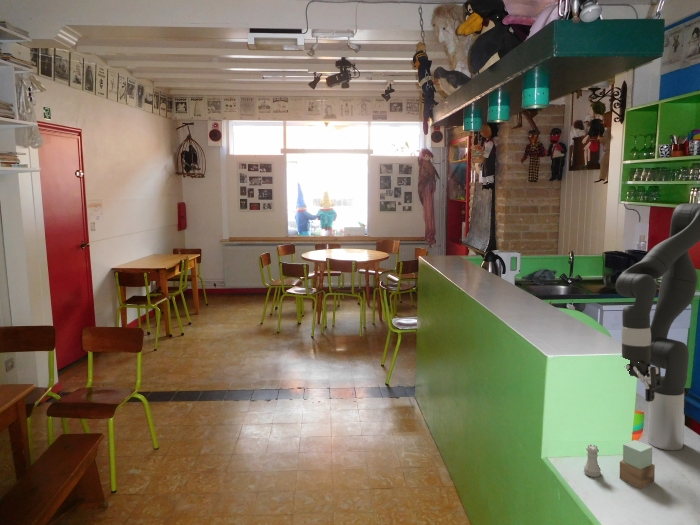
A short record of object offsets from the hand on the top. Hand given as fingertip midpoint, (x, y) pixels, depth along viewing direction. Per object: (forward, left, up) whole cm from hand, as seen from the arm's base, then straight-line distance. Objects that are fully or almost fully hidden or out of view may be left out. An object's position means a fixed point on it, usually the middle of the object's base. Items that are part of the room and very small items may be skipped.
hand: (636, 396), depth 152 cm
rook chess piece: (+18, 0, -19) cm, 26 cm away
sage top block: (+11, +8, -14) cm, 19 cm away
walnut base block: (+11, +8, -19) cm, 23 cm away
